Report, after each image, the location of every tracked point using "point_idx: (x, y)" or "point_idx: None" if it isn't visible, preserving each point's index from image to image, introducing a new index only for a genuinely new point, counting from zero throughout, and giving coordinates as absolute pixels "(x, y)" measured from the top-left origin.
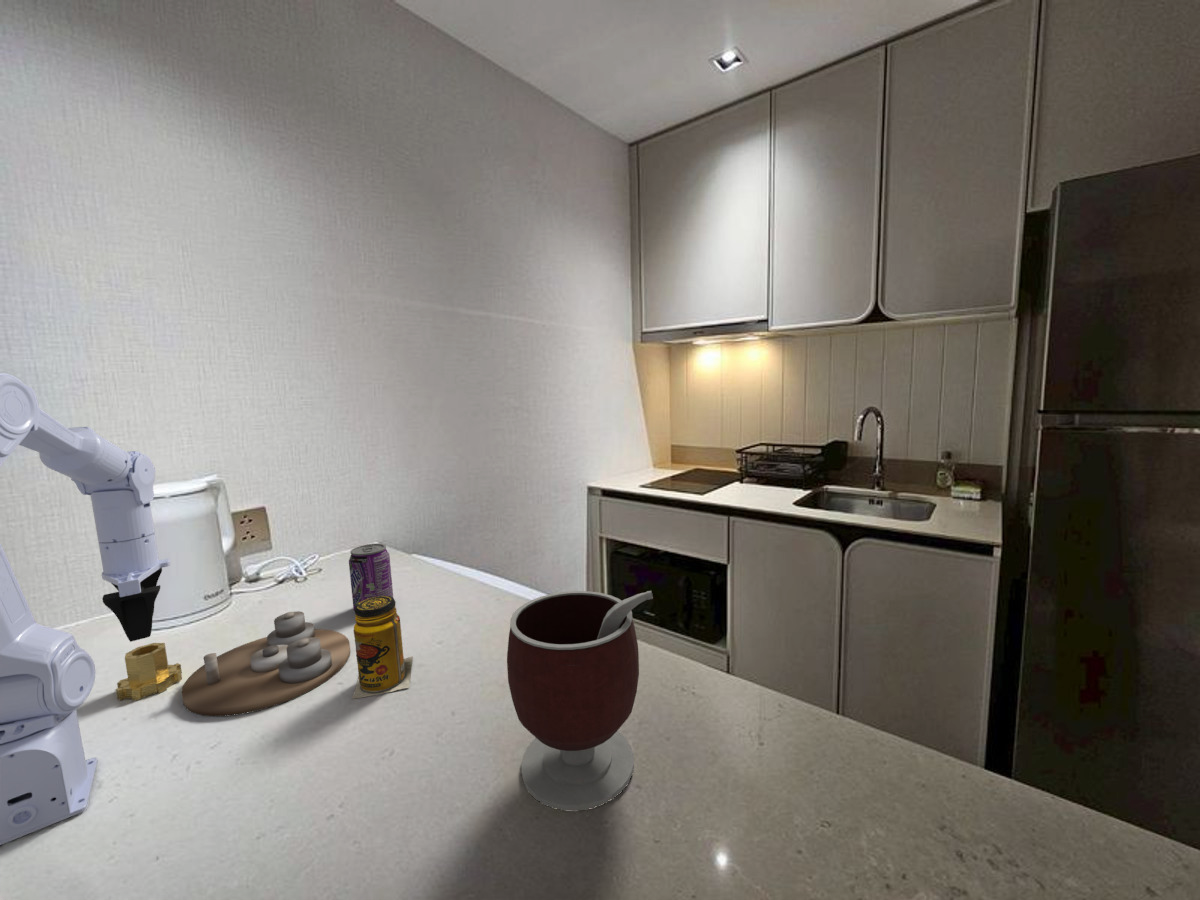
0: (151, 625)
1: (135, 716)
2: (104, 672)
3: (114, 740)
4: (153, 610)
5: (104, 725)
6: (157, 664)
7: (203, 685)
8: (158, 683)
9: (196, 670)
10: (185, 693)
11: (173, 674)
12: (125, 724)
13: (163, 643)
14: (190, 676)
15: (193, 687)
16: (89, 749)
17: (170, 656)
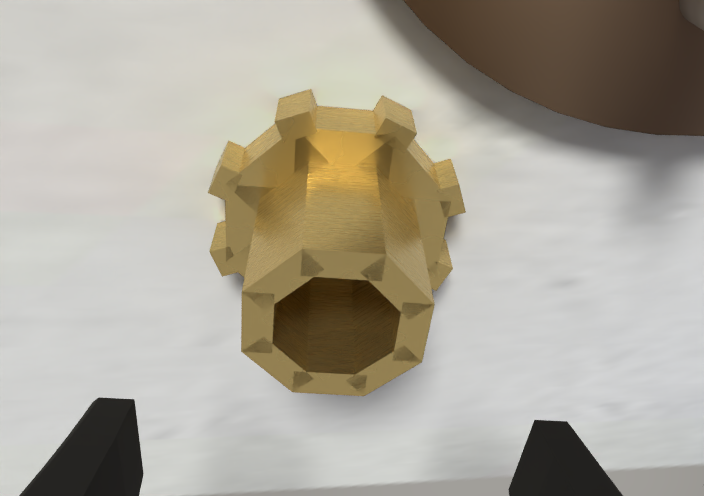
0: (615, 486)
1: (584, 257)
2: (12, 327)
3: (701, 308)
4: (116, 443)
5: (547, 328)
6: (414, 245)
7: (694, 43)
8: (464, 208)
9: (453, 48)
10: (686, 121)
11: (406, 147)
12: (615, 282)
13: (308, 255)
14: (503, 81)
15: (662, 85)
16: (678, 355)
17: (2, 111)
